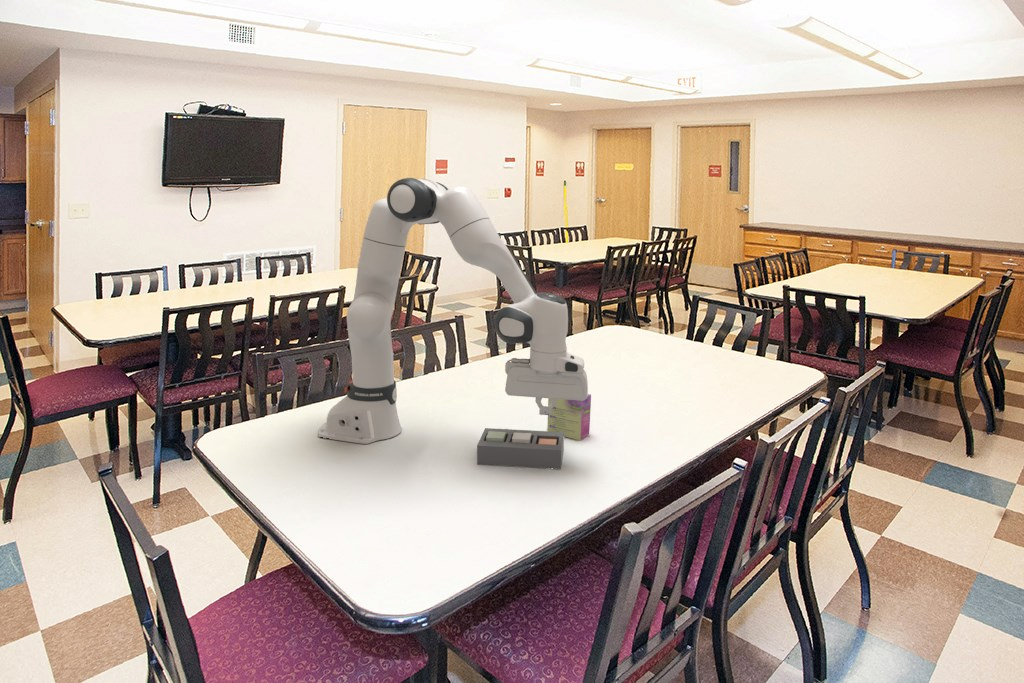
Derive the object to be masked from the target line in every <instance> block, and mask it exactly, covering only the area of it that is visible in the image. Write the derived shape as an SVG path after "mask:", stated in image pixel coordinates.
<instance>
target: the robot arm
mask: <svg viewBox="0 0 1024 683" xmlns="http://www.w3.org/2000/svg"><path fill="white" fill-rule="evenodd" d="M438 223H440V224H441V225H442V226H443V228H444V230H445V231H446V234H447V236H448V238H449V240H450V241H451V244H452V246H453V248H454V250H455V251H456V253H457V254H458V255H459V257H460V258H461V259H462V260H463V261H464V262H466V263H467V264H470V265H471V266H475V267H480V268H482V269H485V270H487V271H489V272H490V273H492V274H494V275H495V276H496V277H497V278H498V279H499V280H500V282H501V284H502V285H503V287H504V289H505V291H506V292H507V294H508V295H509V297H510V298H511V300H512V303H511V304H508V305H506V306H503V307H502V308H500V309H499V310H498V311H497V313H496V314H495V316H494V319H493V320H494V321H493V322H494V323H493V324H494V330H495V333H496V335H497V336H498V337H499V339H501V340H502V341H503V342H504V343H506V344H514V345H516V344H525V343H526V344H529V347H530V348H529V358H517V357H512V358H510V359H508V360H507V361H506V363H505V365H504V366H505V367H504V371H505V373H506V375H507V376H506V379H505V380H506V381H505V391H504V392H505V393H506V394H507V395H508V396H511V397H524V398H525V397H527V398H535V401H534V402H535V404H536V405H537V407H538V408H539V414H538V415H540V416H548V415H551V414H552V408H553V407H554V405H555V404H556V401H557V399H564V400H578V401H584V400H585V399H586V398H587V397H588V394H589V393H588V392H589V386H588V384H589V383H588V382H589V381H588V376H587V375H588V374H587V372H586V370H585V369H584V368H585V361H584V359H583V358H582V357H580V356H577V355H575V354H572V353H569V352H568V349H567V348H568V347H567V342H566V340H567V339H566V338H567V335H568V332H569V330H568V329H569V310H568V304H567V302H566V299H565V298H563V297H562V296H560V295H558V294H555V293H551V292H544V291H543V292H537V291H536V290H535V288H534V286H533V285H532V283H531V282H530V280H529V279H528V277H527V275H526V274H525V272H524V270H523V268H522V267H521V265H520V263H519V262H518V260H517V259H516V257H515V256H514V254H513V252H511V251H510V249H509V248H508V246H507V245H506V243H504V241H503V240H502V238H501V236H500V235H499V232H498V231H497V230H496V227H495V226H494V224H493V223H492V220H491V219H490V217H489V215H488V213H487V211H486V210H485V207H484V206H483V205H482V203H481V201H479V199H478V198H477V196H476V195H475V193H474V192H473V191H472V190H471V189H470V187H467V186H463V185H459V186H458V185H457V186H452V187H450V188H448V187H447V186H446V185H444V184H442V183H440V182H438V181H436V182H435V181H433V180H431V179H427V178H426V179H425V178H414V177H405V178H401V179H398V180H396V181H395V182H394V183H393V184H392V185H391V186H390V188H389V189H388V192H387V195H386V197H385V198H381V199H380V198H379V199H377V200H376V201H375V202H374V203H373V205H372V208H371V210H370V212H369V215H368V217H367V221H366V224H365V229H364V233H363V237H362V243H361V248H360V252H359V259H358V263H357V273H356V274H357V275H356V281H355V286H354V287H355V288H354V295H353V300H352V302H351V304H350V305H349V307H348V309H347V312H346V326H347V333H348V334H347V335H348V342H349V350H350V356H351V369H352V379H351V380H349V383H348V384H347V385H346V387H344V394H345V393H346V394H347V395H346V396H344V397H343V398H342V399H341V400H339V401H338V402H337V403H336V404H335V405H333V406H332V407H331V408H330V410H329V411H328V413H327V417H326V422H324V424H322V425H321V426H320V428H319V429H318V435H319V436H318V438H320V437H323V438H322V439H326V438H329V439H328V440H336V441H341V442H348V443H356V444H361V445H362V444H363V445H367V444H371V443H374V442H377V441H383V440H388V439H391V438H394V437H396V436H398V435H399V434H400V433H402V431H403V427H402V426H401V422H400V419H399V415H398V414H399V413H398V410H397V409H398V408H397V397H398V395H397V394H398V393H397V391H398V388H397V383H396V380H395V371H394V370H395V369H394V367H395V366H394V351H393V349H394V348H393V342H392V328H391V326H392V325H391V321H392V316H393V313H394V308H395V303H396V298H397V294H398V286H399V282H400V276H401V271H402V266H403V262H404V256H405V252H406V247H407V246H406V245H407V241H408V236H409V232H410V230H411V228H412V227H413V226H414V225H415V224H416V225H417V224H418V225H432V224H438ZM548 398H551V401H550V402H551V405H550V406H549V407H548V405H547V406H546V405H545V406H544V405H543V403H542V399H548Z"/></svg>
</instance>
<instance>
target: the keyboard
mask: <svg viewBox="0 0 1024 683" xmlns="http://www.w3.org/2000/svg"><path fill="white" fill-rule="evenodd" d="M489 431H496V432H506V440H505V442H495V441H486V436H487V434H488V432H489ZM514 432H515V433H531V443H514V442H512V437H513V434H514ZM539 438H541V439H557V445H551V444H538V443H539ZM564 444H565V437H564V432H551V431H547V430H545V431H544V430H531V429H530V430H525V429H524V430H523V429H509V428H490V427H489V428H488V427H487V428H484V430H483V432H482V434H481V436H480V439H479V440H478V443H477V444H476V460H477V461H476V462H477V463H476V464H477V465H479V466H496V467H497V466H498V467H510V468H511V467H514V468H515V467H516V468H530V469H533V468H534V469H546V468H550V469H549V470H561V469H562V466H563V465H562V464H563V458H564V457H563V456H564V450H565V449H564V448H565V447H564V446H565V445H564ZM551 468H553V469H551Z"/></svg>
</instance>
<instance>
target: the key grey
mask: <svg viewBox="0 0 1024 683" xmlns="http://www.w3.org/2000/svg"><path fill="white" fill-rule="evenodd" d="M512 442H514V443H531V433H515V432H514V434H513V437H512Z"/></svg>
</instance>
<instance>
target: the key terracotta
mask: <svg viewBox="0 0 1024 683" xmlns="http://www.w3.org/2000/svg"><path fill="white" fill-rule="evenodd" d="M538 444H551V445H557V439H541V438H539V443H538Z"/></svg>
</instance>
